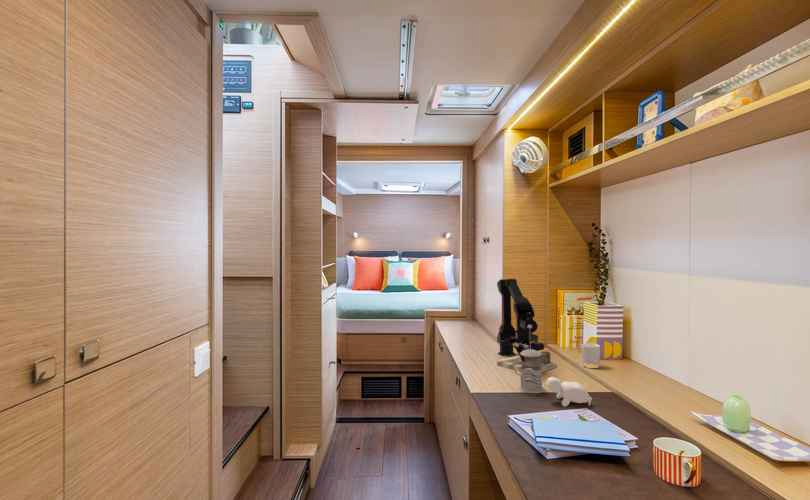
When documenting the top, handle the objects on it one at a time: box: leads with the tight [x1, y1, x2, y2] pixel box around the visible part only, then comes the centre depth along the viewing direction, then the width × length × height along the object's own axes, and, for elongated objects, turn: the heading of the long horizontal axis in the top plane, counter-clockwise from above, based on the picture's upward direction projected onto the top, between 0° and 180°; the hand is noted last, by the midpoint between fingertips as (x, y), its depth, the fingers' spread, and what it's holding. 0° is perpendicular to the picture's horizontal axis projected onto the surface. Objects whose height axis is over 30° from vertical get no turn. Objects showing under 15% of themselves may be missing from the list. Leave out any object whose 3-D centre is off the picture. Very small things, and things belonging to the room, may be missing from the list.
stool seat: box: [496, 354, 558, 373], centre depth 184 cm, size 20×18×6 cm
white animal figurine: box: [545, 376, 593, 407], centre depth 139 cm, size 9×8×15 cm
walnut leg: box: [524, 350, 551, 363], centre depth 180 cm, size 16×4×4 cm, turn 125°
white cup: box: [580, 342, 601, 365], centre depth 181 cm, size 8×8×10 cm
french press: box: [513, 325, 546, 394], centre depth 153 cm, size 10×12×25 cm
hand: (523, 362), depth 181 cm, fingers closed
